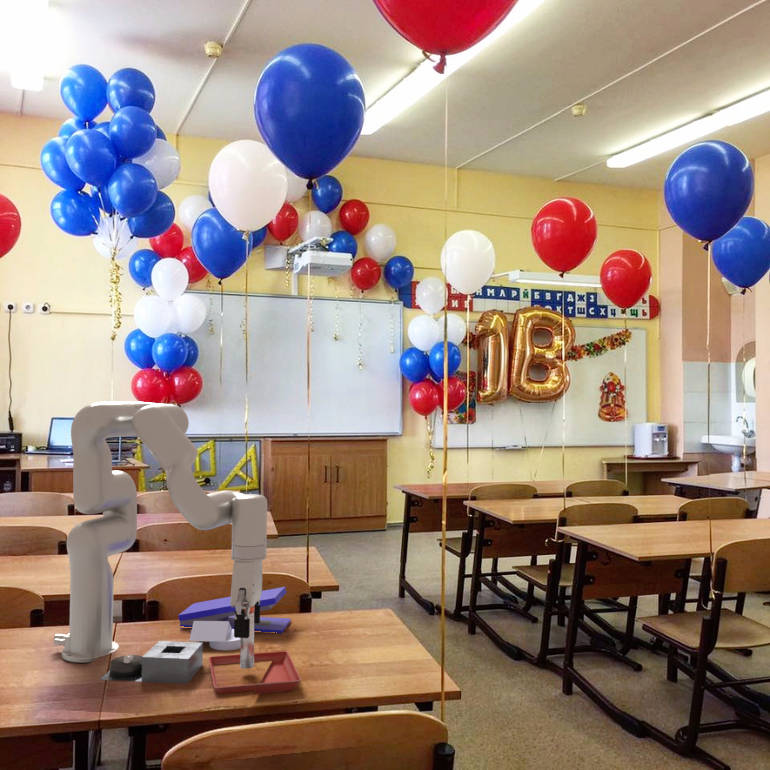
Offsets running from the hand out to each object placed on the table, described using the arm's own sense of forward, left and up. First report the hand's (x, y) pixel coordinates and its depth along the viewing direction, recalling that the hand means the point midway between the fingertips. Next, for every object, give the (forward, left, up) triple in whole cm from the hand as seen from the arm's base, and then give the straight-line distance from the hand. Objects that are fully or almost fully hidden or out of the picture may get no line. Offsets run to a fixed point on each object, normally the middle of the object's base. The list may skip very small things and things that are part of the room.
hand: (247, 629), depth 161 cm
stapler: (-12, +36, -11) cm, 40 cm away
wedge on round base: (-11, +18, -11) cm, 24 cm away
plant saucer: (+2, 0, -12) cm, 12 cm away
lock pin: (0, 0, -8) cm, 8 cm away
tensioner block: (-20, -1, -11) cm, 23 cm away
